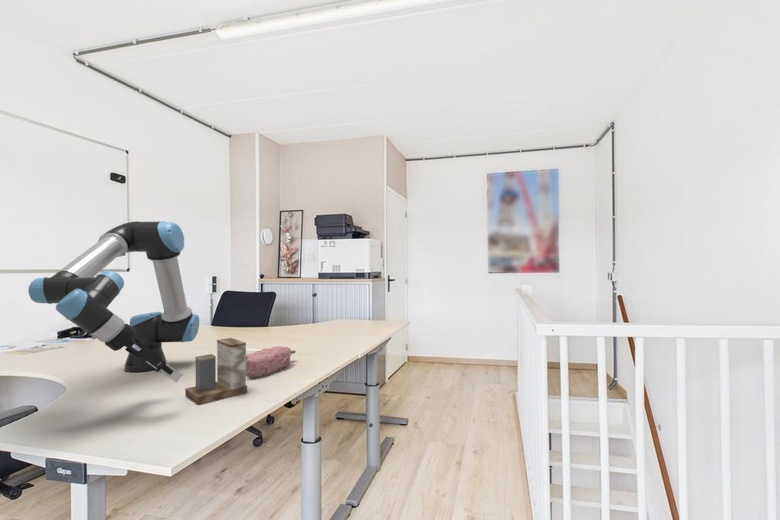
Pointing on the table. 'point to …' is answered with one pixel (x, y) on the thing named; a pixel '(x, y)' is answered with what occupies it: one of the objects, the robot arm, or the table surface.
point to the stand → (225, 373)
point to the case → (205, 373)
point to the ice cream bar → (267, 361)
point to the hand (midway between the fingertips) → (172, 374)
